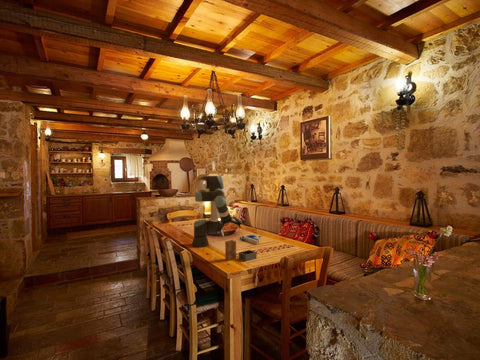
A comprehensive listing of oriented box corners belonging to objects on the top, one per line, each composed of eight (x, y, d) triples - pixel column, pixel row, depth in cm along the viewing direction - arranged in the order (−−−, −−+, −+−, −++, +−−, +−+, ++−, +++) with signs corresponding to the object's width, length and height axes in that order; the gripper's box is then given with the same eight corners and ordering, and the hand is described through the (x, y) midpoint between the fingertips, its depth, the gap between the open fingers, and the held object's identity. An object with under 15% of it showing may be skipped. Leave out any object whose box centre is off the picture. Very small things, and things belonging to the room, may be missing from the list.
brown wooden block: (228, 260, 199) (228, 242, 199) (225, 259, 203) (225, 241, 202) (236, 259, 204) (236, 241, 203) (232, 257, 207) (232, 239, 207)
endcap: (245, 261, 198) (245, 255, 198) (238, 258, 204) (238, 252, 204) (256, 258, 205) (256, 252, 204) (249, 255, 211) (249, 249, 211)
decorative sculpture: (251, 242, 240) (232, 235, 264) (251, 246, 240) (232, 239, 264) (273, 237, 256) (253, 232, 280) (273, 241, 256) (253, 235, 280)
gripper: (208, 222, 193) (216, 240, 206) (241, 212, 193) (247, 232, 206) (208, 215, 200) (216, 234, 212) (239, 206, 200) (245, 225, 212)
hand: (231, 233), depth 209 cm, fingers open, 13 cm apart
